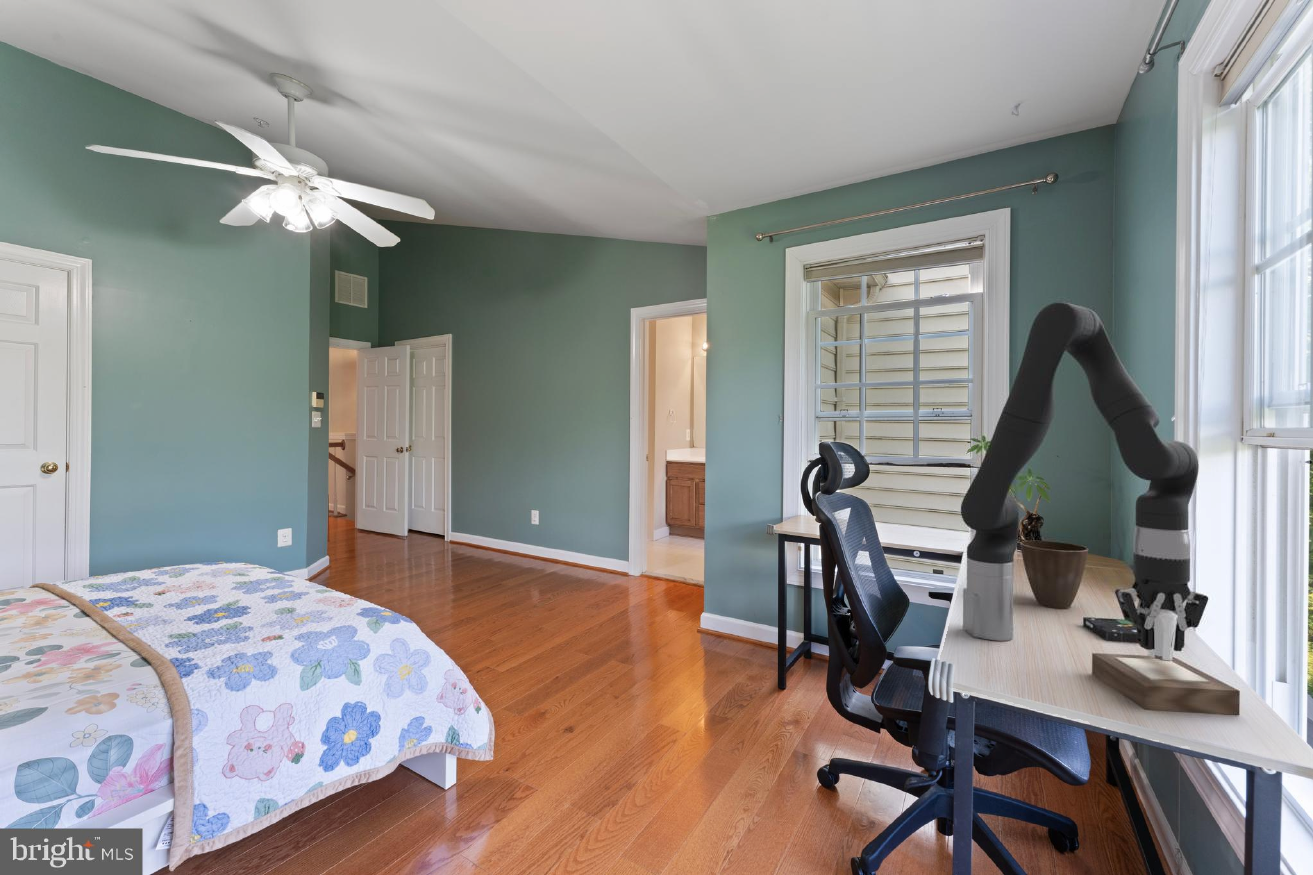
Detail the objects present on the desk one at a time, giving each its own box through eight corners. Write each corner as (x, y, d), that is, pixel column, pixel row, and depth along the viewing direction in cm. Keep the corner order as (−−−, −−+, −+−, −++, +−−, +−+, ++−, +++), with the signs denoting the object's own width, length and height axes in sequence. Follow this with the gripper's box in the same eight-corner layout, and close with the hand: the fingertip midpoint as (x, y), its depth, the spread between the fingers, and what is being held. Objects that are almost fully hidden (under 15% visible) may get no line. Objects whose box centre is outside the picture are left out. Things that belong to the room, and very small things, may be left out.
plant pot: (1006, 599, 156) (1007, 541, 156) (1046, 594, 161) (1047, 538, 160) (1059, 615, 142) (1060, 552, 142) (1102, 610, 146) (1102, 549, 146)
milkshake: (1189, 665, 97) (1191, 607, 97) (1153, 661, 98) (1155, 604, 98) (1170, 655, 102) (1172, 599, 102) (1136, 652, 103) (1138, 597, 103)
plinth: (1145, 709, 94) (1145, 683, 94) (1092, 673, 108) (1092, 651, 108) (1239, 714, 92) (1239, 688, 92) (1173, 677, 106) (1173, 655, 106)
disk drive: (1107, 644, 125) (1185, 648, 122) (1107, 631, 125) (1185, 635, 122) (1081, 628, 135) (1153, 631, 132) (1081, 616, 135) (1152, 619, 132)
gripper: (1131, 556, 97) (1131, 655, 97) (1224, 558, 95) (1223, 659, 95) (1103, 547, 105) (1102, 639, 105) (1188, 549, 103) (1188, 643, 103)
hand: (1160, 648), depth 100 cm, fingers closed on milkshake, 4 cm apart
